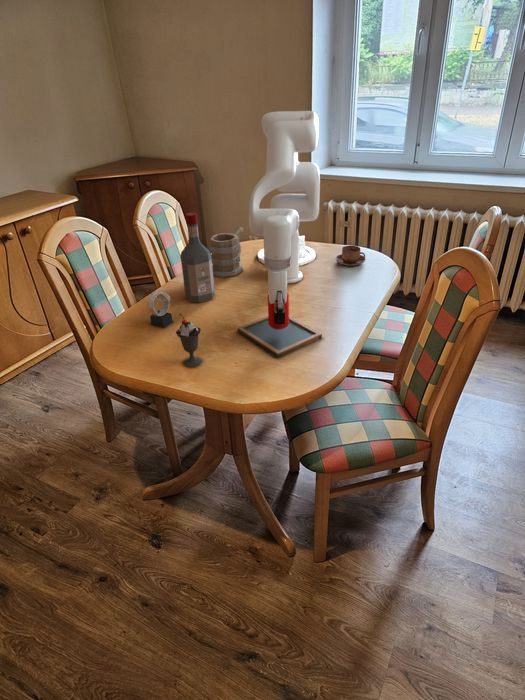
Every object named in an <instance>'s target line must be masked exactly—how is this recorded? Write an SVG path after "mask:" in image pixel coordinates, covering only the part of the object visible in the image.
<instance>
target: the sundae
mask: <svg viewBox="0 0 525 700" xmlns="http://www.w3.org/2000/svg"><path fill="white" fill-rule="evenodd" d="M179 316H181V317H182V319H183V320H181V325H180V326H179V328H178V329H177V330H176V331H175V334H176V336H177V337H178V338H179V339H180V343H181V346H182V348H183V350H184V351H185V352H186V353H189V357H188V358H186V359H184V361H183V364H184V366H186V367H188V368H194V367H198V366H200V365H201V363H202V359H201V358H200V357H198V356H195V354H194V353H195V352H196V351H197V349H198V348H199V335H200V333H201V328H200V327H198V326H196V325H194V324H193V323H192V322H191V321H187V320H185V317H184V315H182V313H179Z"/></svg>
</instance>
